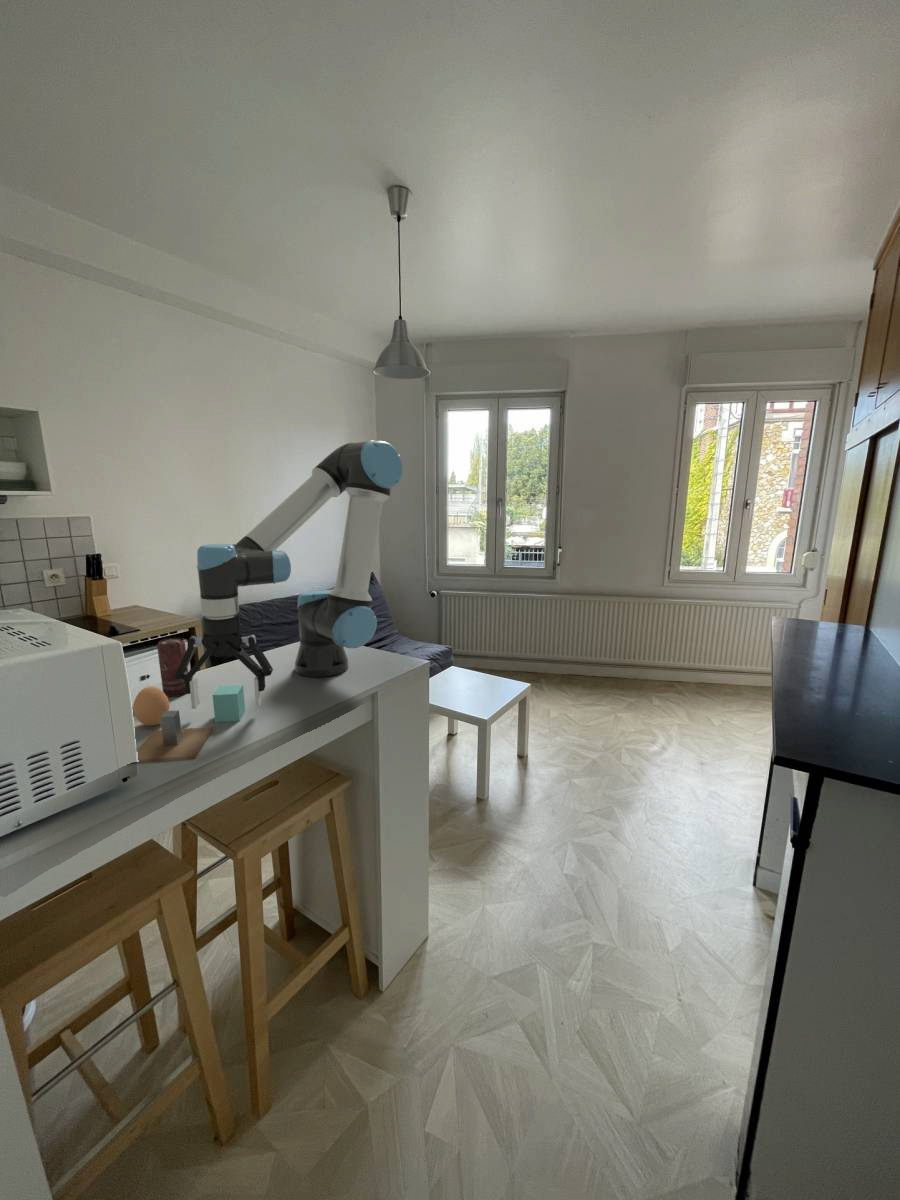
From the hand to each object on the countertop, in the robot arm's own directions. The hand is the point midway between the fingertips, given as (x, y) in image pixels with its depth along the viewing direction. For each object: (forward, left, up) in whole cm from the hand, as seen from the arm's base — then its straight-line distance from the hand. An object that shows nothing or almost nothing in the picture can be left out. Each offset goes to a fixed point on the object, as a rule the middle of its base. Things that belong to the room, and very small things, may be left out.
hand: (227, 705), depth 112 cm
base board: (+8, +12, -3) cm, 14 cm away
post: (+8, +12, -3) cm, 14 cm away
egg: (+15, +2, -3) cm, 16 cm away
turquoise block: (0, 0, -3) cm, 3 cm away
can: (+17, -16, -3) cm, 23 cm away
